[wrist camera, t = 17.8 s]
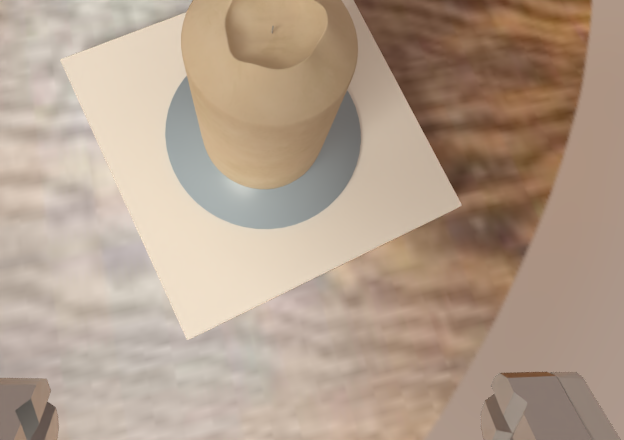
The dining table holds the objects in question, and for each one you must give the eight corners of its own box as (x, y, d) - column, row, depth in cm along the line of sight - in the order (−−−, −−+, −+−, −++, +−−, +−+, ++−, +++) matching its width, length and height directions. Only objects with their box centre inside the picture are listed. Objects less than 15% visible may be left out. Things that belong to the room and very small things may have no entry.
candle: (198, 79, 26) (169, -69, 16) (315, 74, 26) (357, -71, 17) (206, 195, 25) (180, 114, 15) (327, 187, 25) (378, 104, 16)
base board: (190, 338, 25) (186, 340, 23) (70, 73, 27) (58, 57, 25) (450, 211, 28) (463, 204, 26) (326, -24, 29) (331, -45, 28)
